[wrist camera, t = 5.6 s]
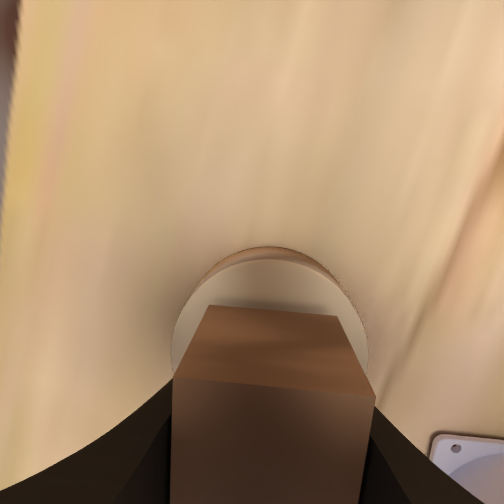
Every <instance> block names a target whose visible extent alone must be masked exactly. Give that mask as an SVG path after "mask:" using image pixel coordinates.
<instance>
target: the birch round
mask: <svg viewBox="0 0 504 504" xmlns="http://www.w3.org/2000/svg"><path fill="white" fill-rule="evenodd" d="M209 305H219V306H230V307H242V308H253V309H264V310H276V311H287V312H298V313H310V314H321V315H333V316H337V317H338V319H339V321H340V323H341V325H342V327H343V329H344V331H345V334H346V336H347V338H348V340H349V342H350V344H351V346H352V348H353V350H354V352H355V354H356V356H357V358H358V360H359V363H360V365H361V367H362V369H363V371H364V373H365V375H366V373H367V366H368V344H367V337H366V334H365V331H364V327H363V324H362V322H361V320H360V318H359V316H358V314H357V311H356V309H355V307H354V306H353V304H352V302H351V301H350V299H349V298H348V296H347V295H346V293H345V292H344V290H343V289H342V288H341V286H340V285H339V283H338V282H337V280H336V279H335V278H334V277H333V276H332V274H331V273H330V272H329V271H328V270H327V269H325V268H324V267H323V266H322V265H321V264H319V263H318V262H316V261H315V260H313V259H312V258H310V257H308V256H306V255H304V254H302V253H299V252H296V251H293V250H289V249H284V248H278V247H258V248H252V249H247V250H244V251H241V252H238V253H235V254H233V255H231V256H229V257H227V258H225V259H224V260H222V261H221V262H219V263H218V264H216V265H215V266H214V267H213V268H212V269H211V270H209V272H208V273H207V274H206V275H205V276H204V277H203V278H202V280H201V281H200V283H199V284H198V286H197V287H196V288H195V290H194V291H193V293H192V294H191V296H190V297H189V299H188V300H187V302H186V303H185V305H184V307H183V309H182V311H181V313H180V316H179V318H178V320H177V322H176V325H175V328H174V332H173V336H172V342H171V362H172V369H173V373H174V374H175V372H176V370H177V368H178V366H179V364H180V362H181V360H182V358H183V356H184V354H185V352H186V350H187V348H188V346H189V344H190V342H191V340H192V338H193V336H194V334H195V332H196V330H197V328H198V326H199V324H200V322H201V320H202V318H203V316H204V314H205V312H206V310H207V308H208V306H209Z"/></svg>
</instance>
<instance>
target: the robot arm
mask: <svg viewBox="0 0 504 504" xmlns="http://www.w3.org/2000/svg"><path fill="white" fill-rule="evenodd" d="M172 393H173V378H172V379H171V380H170V381H169V382H168V383H167V384H166V385H165V386H164V387H163V388H161V389H160V390H159V391H158V392H157V393H156V394H155V395H154V396H152V397H151V398H150V399H149V400H148V401H147V402H145V403H144V404H143V405H142V406H141V407H140V408H138V409H137V410H136V411H135V412H134V413H132V414H131V415H130V416H128V417H127V418H126V419H125V420H123V421H122V422H121V423H119V424H118V425H117V426H115V427H114V428H113V429H111V430H110V431H109V432H107V433H106V434H104V435H103V436H101V437H100V438H98V439H97V440H95V441H94V442H92V443H90V444H89V445H87V446H86V447H84V448H83V449H81V450H79V451H78V452H76V453H74V454H72V455H70V456H69V457H67V458H65V459H63V460H61V461H60V462H58V463H56V464H54V465H52V466H50V467H49V468H47V469H45V470H43V471H41V472H39V473H37V474H35V475H33V476H31V477H29V478H27V479H25V480H23V481H21V482H19V483H17V484H15V485H12V486H10V487H8V488H6V489H4V490H1V491H0V504H170V476H171V434H172ZM454 444H457V445H456V446H454V447H452V446H453V445H454ZM358 504H504V440H498V439H488V438H478V437H468V436H458V435H448V434H440V435H438V436H436V437H435V438H434V440H433V443H432V448H431V453H430V457H429V459H428V458H427V457H426V456H425V455H424V454H423V453H422V452H421V451H420V450H418V449H417V448H416V447H415V446H414V445H413V444H412V443H411V442H410V441H409V440H408V439H407V438H406V437H405V436H404V435H403V434H402V433H401V432H400V431H399V430H398V429H397V428H396V427H395V426H394V425H393V424H392V423H391V422H390V421H389V420H388V419H387V418H386V417H385V416H384V415H383V414H382V413H381V412H380V411H379V410H378V409H377V408H376V407H375V406H374V411H373V417H372V423H371V429H370V435H369V441H368V447H367V453H366V459H365V465H364V471H363V477H362V483H361V488H360V494H359V500H358Z"/></svg>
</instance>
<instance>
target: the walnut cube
mask: <svg viewBox="0 0 504 504" xmlns="http://www.w3.org/2000/svg"><path fill="white" fill-rule="evenodd" d="M375 399H376V396H375V394H374V392H373V389H372V387H371V385H370V383H369V381H368V379H367V377H366V375H365V373H364V371H363V369H362V367H361V365H360V363H359V360H358V358H357V356H356V354H355V352H354V350H353V348H352V346H351V344H350V342H349V340H348V338H347V336H346V334H345V331H344V329H343V327H342V325H341V323H340V321H339V319H338V317H337V316H333V315H321V314H310V313H298V312H287V311H276V310H264V309H253V308H242V307H230V306H219V305H209V306H208V308H207V310H206V312H205V314H204V316H203V318H202V320H201V322H200V324H199V326H198V328H197V330H196V332H195V334H194V336H193V338H192V340H191V342H190V344H189V346H188V348H187V350H186V352H185V354H184V356H183V358H182V360H181V362H180V364H179V366H178V368H177V370H176V372H175V374H174V376H173V393H172V434H171V476H170V504H358V500H359V494H360V488H361V483H362V477H363V471H364V465H365V459H366V453H367V447H368V441H369V435H370V429H371V423H372V417H373V411H374V405H375Z"/></svg>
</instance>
